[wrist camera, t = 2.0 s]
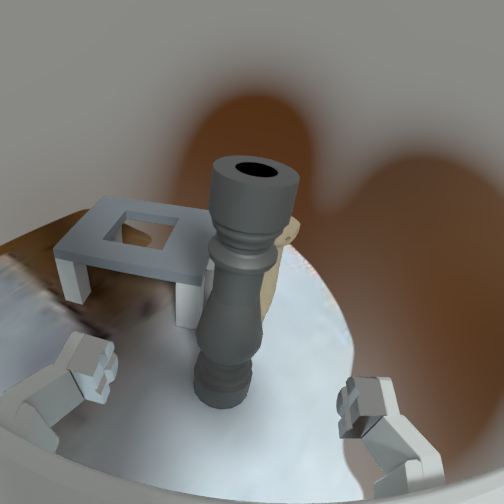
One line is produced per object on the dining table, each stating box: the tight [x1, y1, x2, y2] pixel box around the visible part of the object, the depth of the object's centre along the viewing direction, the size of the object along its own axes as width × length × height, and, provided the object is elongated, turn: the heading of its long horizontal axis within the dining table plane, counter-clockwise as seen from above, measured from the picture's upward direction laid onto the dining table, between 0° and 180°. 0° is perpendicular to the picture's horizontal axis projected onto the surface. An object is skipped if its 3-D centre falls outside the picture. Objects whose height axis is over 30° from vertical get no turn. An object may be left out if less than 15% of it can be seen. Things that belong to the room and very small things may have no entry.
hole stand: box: [53, 196, 217, 330], centre depth 44 cm, size 20×16×9 cm
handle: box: [260, 216, 300, 322], centre depth 40 cm, size 5×6×15 cm
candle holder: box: [194, 155, 299, 409], centre depth 27 cm, size 6×6×25 cm
